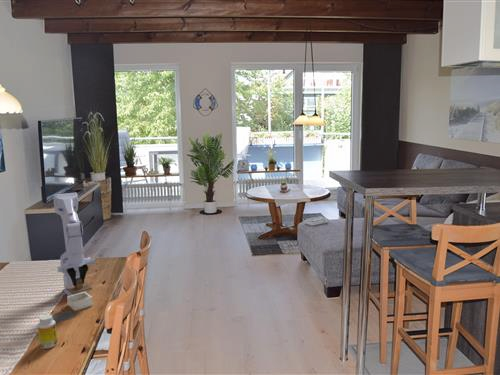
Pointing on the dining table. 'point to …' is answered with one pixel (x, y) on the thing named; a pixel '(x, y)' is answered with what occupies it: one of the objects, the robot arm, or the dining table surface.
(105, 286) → the dining table surface
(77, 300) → the dish
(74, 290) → the lid
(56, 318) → the mat
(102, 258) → the dining table surface
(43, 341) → the supplement bottle
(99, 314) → the dining table surface
